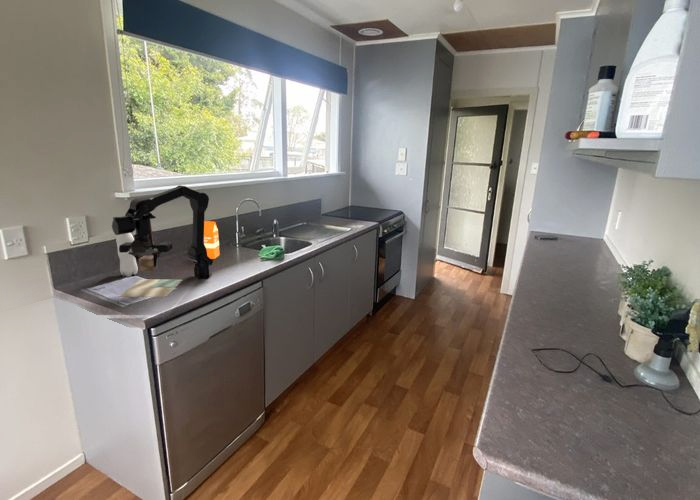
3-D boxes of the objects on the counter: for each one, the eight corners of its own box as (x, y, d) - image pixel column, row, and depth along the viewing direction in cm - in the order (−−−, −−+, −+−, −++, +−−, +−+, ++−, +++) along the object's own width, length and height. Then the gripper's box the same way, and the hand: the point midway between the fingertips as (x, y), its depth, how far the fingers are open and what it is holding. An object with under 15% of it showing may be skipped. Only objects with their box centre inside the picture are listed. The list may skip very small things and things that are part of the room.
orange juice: (214, 259, 202) (212, 223, 197) (198, 258, 202) (195, 222, 197) (219, 255, 210) (217, 220, 204) (204, 254, 210) (201, 219, 204)
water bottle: (125, 272, 176) (118, 220, 170) (141, 272, 177) (135, 220, 171) (117, 277, 170) (110, 223, 163) (134, 277, 170) (127, 224, 164)
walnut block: (157, 266, 157) (156, 255, 155) (152, 270, 152) (151, 259, 150) (145, 266, 156) (143, 255, 155) (140, 271, 151) (138, 259, 150)
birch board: (183, 281, 167) (182, 279, 167) (166, 299, 148) (165, 296, 148) (141, 281, 166) (140, 279, 165) (118, 299, 146) (118, 296, 146)
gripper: (108, 235, 141) (115, 274, 145) (159, 235, 142) (164, 273, 147) (123, 228, 151) (128, 264, 156) (170, 228, 153) (175, 264, 158)
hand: (149, 267), depth 154 cm, fingers closed on walnut block, 5 cm apart
